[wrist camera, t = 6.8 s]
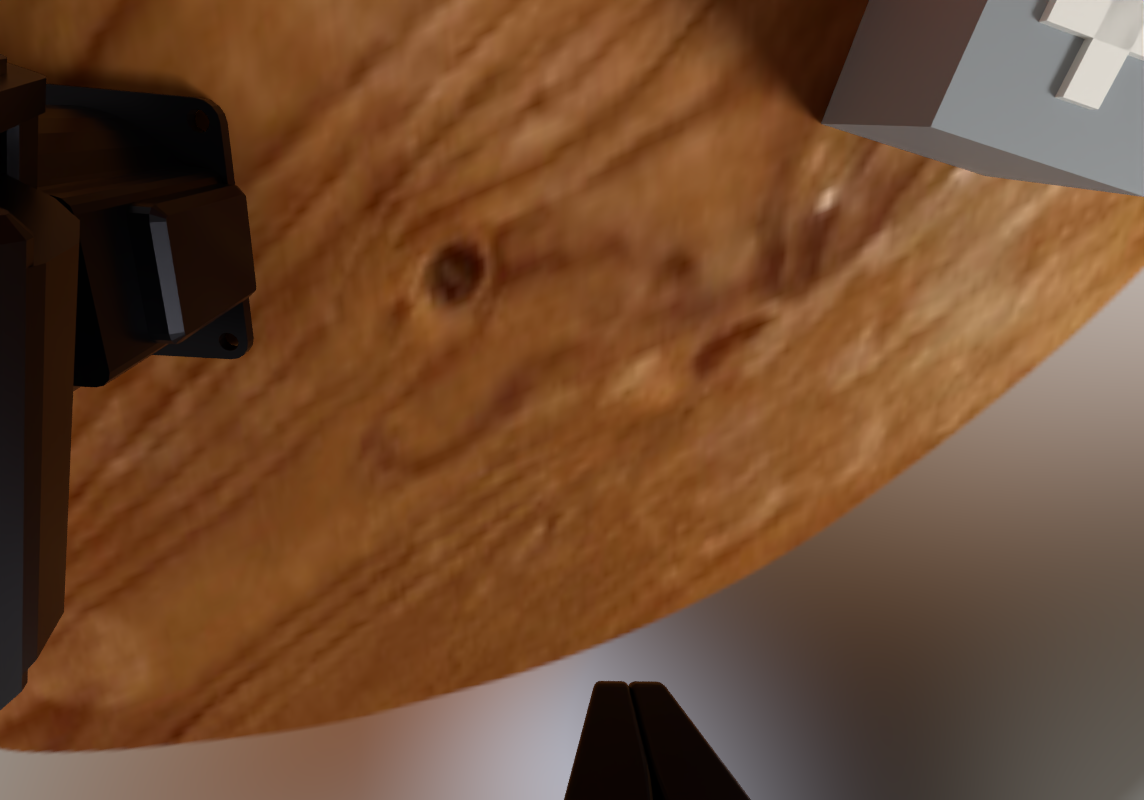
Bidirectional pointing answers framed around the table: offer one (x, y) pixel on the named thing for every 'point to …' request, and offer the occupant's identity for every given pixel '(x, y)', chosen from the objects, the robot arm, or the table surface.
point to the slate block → (1003, 87)
